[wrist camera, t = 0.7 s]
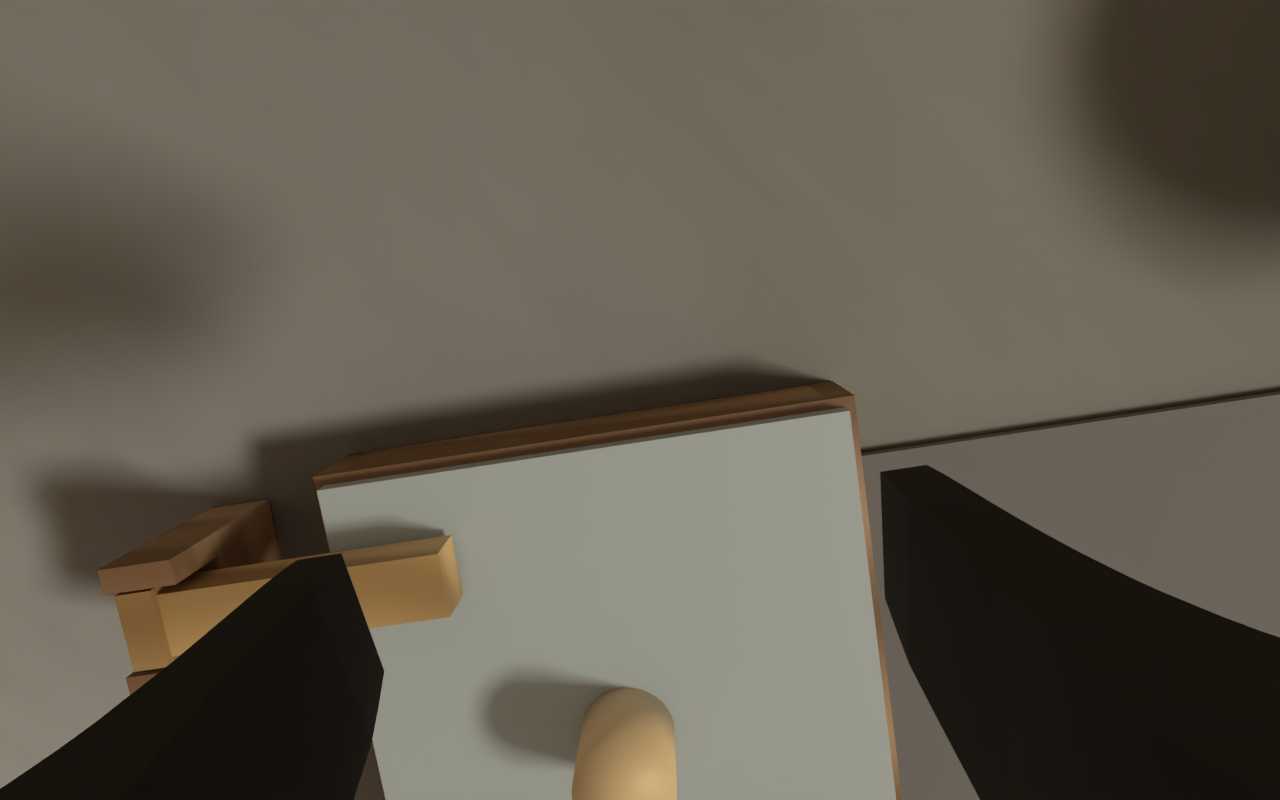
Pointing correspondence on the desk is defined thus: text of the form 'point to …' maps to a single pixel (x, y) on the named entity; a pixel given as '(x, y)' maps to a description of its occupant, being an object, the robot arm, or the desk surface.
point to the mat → (1108, 526)
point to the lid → (636, 622)
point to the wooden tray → (251, 528)
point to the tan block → (183, 613)
